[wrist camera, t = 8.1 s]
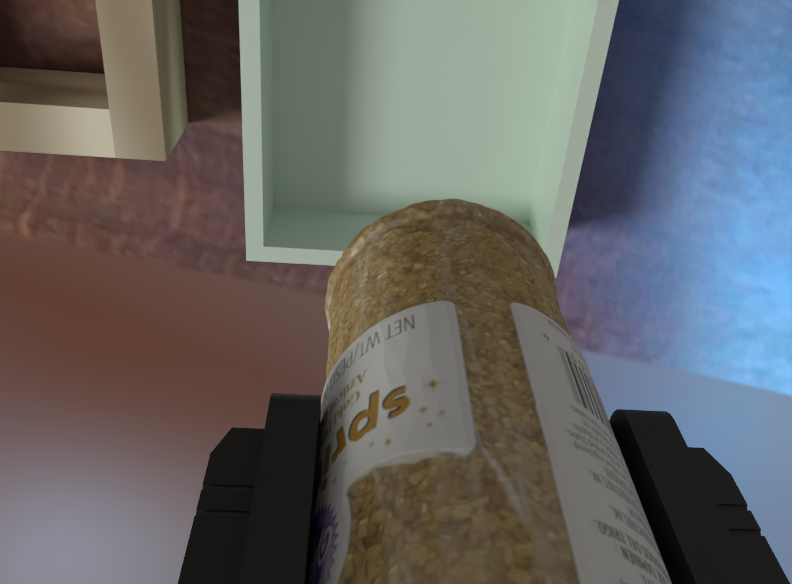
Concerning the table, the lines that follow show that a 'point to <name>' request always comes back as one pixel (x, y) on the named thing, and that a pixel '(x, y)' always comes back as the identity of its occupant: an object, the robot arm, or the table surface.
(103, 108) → the socket block
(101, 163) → the table surface
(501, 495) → the sprinkles bottle
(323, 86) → the tray
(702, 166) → the table surface
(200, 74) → the table surface
